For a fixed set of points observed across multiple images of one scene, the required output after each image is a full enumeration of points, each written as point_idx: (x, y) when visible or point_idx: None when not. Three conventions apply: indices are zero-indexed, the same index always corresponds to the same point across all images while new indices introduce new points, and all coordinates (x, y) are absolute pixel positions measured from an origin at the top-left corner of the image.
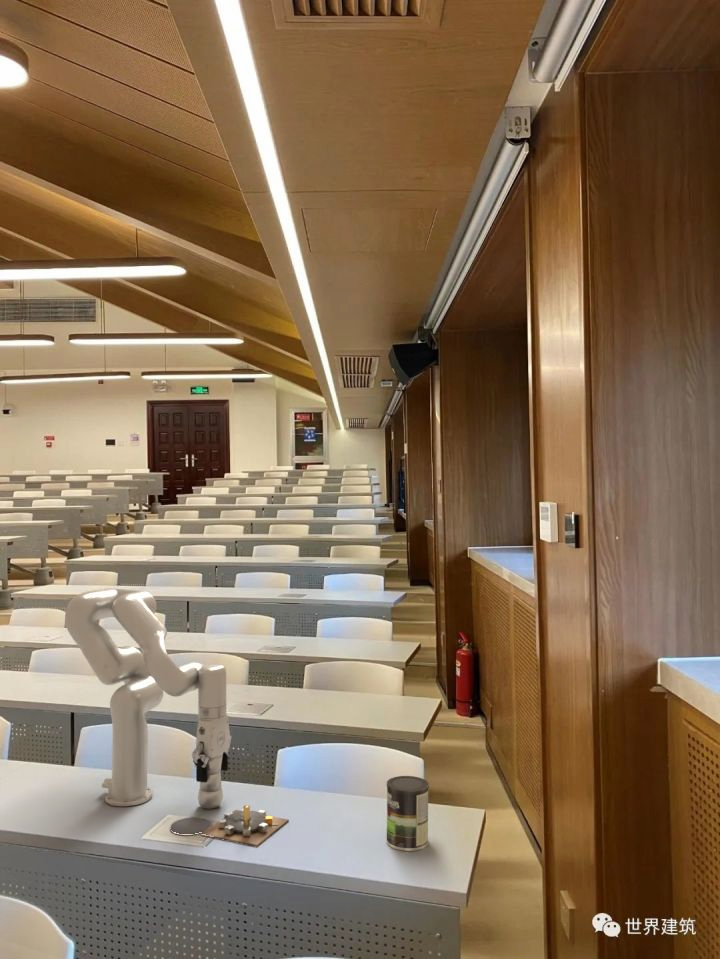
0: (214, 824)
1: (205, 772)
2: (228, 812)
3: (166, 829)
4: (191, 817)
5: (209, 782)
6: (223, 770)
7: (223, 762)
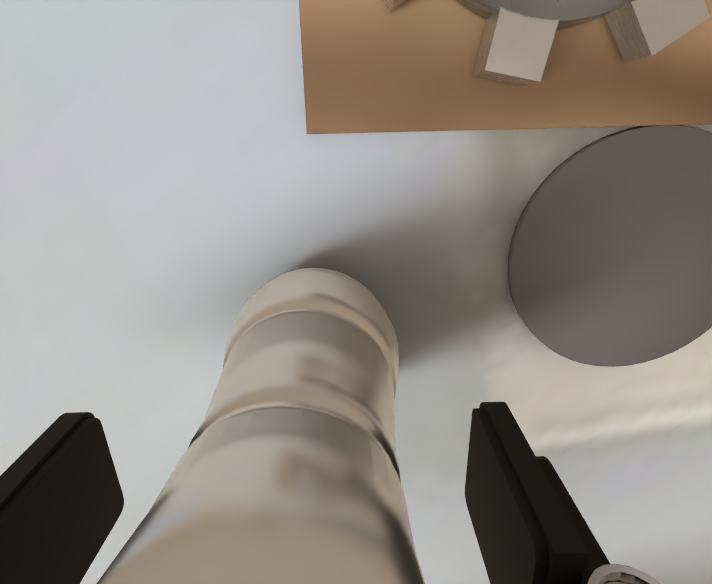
0: (590, 121)
1: (546, 493)
2: (499, 68)
3: (682, 355)
4: (529, 321)
5: (385, 404)
6: (101, 442)
7: (47, 516)
